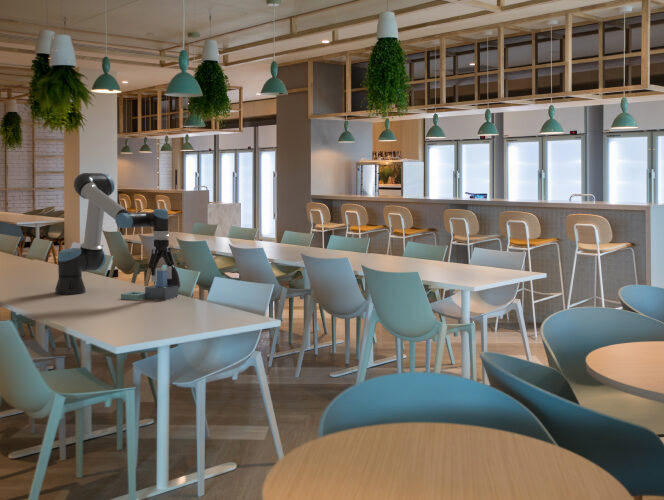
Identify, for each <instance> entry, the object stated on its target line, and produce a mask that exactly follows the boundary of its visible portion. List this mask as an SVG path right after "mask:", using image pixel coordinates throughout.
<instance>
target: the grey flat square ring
mask: <svg viewBox="0 0 664 500" xmlns="http://www.w3.org/2000/svg"><path fill="white" fill-rule="evenodd" d="M120 299H121V300H132V301H140V300H144V299H145V291H144V292H143V291H130V292H125V293H121V294H120Z"/></svg>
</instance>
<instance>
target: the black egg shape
mask: <svg viewBox="0 0 664 500" xmlns="http://www.w3.org/2000/svg"><path fill="white" fill-rule="evenodd" d="M167 285H177V286H178V292H179V291H180V288H181V281H180V276H179V273H178V270H177V268H176V267H175V265H173V266H171V279H167Z"/></svg>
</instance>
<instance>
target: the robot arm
mask: <svg viewBox="0 0 664 500" xmlns="http://www.w3.org/2000/svg"><path fill="white" fill-rule="evenodd" d="M115 185H116V184H115V181H114V179H113V178H112V176H111V175H109V174H108V173H101V172H98V173H97V172H83V173H80V174H78V175H77V176H76V177H75V179H74V181H73V188H74V191H75V192H76V193H77V195H78V196H79V197H81V198H82V199H84V200H88V203H87V213H86V219H85V230H84V240H83V243H81V244H80V246H79V247H80V248H79V247H78V248H77V247H72V248H65V249H61V250H60V251H59V252H58V255H57V256H58V257H57V270H58V271H57V272H58V280H57V283H56V285H55V289H54V292H55V294H57V295H77V294H79V295H80V294H83V293H86V287H85V283H84V281H83V278H82V277H83V275H82V272H83V273H84V272H90V271H96V270H97V271H98V270H100V269H102V268H103V267H104V266H105V264H106V261H107V255H106V252H105V250H104V249H103V248H104V247H103V246H102V245H101V241H102V234H103V224H104V216H105V215H104V214H105V213H106V214H107V215H108V216H110V218H112V219H113V220H115V221H114V222H115V224H116V226H117V227H118V228H120V229H133V228H153V239H154V240H153V246H154V248H155V249H153V248H152V249H151V255H150V257H149V258H150V260H149V263H148V267H147V268H148V269H149V270H150V275H151V277H150V278H151V280H150V281H151V283H156V282H157V269H156V268H158V264H159V262H160V261H161V260H160V259H162V258H163V260H164V262H165V264H166V265H165V268H167V279H171V266H174V265H175V262H174V261H175V260H174V258H173V254H172V251H171V247H169V246H170V240H169V231H170V229H169V225H170V223H169V222H170V220H169V219H170V217H169V210H168V209H166V208H155V209H153V212H148V211H147V212H146V211H139V212H131V211H129V210H127V209H126V208H125V207H124V206H123V205H121V204H119V203H118V202H117V201H116V200H115V199H113V198H111V197H110V196H111V195H112V194H113V193H114V191H115V189H116V188H115Z"/></svg>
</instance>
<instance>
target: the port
mask: <svg viewBox="0 0 664 500" xmlns="http://www.w3.org/2000/svg"><path fill="white" fill-rule="evenodd" d="M144 292H145V298H144V299H145V300H154V299H157V301H168V300H167V299H169V300H171V299H170V298H172V299H175V298H174V297H176V298H178V297H179V291H178V286H177V285H167V287H156V284H153V285H148V286H144ZM177 296H178V297H177Z"/></svg>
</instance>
